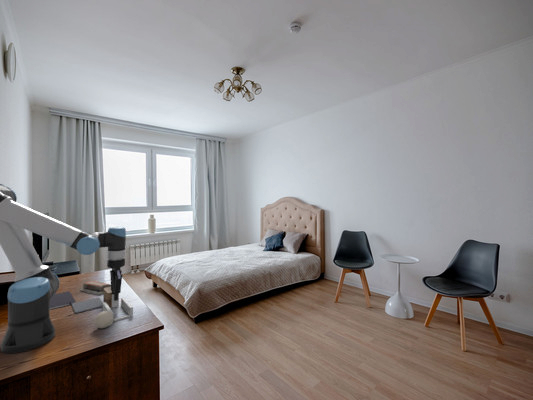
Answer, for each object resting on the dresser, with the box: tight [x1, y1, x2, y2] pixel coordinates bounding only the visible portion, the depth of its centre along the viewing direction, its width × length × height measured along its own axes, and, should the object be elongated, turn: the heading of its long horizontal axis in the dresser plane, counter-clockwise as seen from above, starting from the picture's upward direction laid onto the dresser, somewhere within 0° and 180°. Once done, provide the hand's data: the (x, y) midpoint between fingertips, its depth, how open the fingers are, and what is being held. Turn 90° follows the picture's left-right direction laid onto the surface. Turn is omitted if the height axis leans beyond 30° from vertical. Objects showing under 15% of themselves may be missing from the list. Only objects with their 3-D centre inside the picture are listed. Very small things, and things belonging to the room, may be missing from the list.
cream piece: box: [92, 310, 114, 329], centre depth 107 cm, size 7×7×7 cm
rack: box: [102, 297, 134, 323], centre depth 120 cm, size 9×17×4 cm, turn 44°
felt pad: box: [71, 297, 103, 314], centre depth 128 cm, size 12×14×1 cm
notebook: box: [49, 291, 77, 311], centre depth 134 cm, size 13×2×21 cm
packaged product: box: [79, 280, 111, 296], centre depth 150 cm, size 18×5×10 cm
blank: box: [102, 287, 118, 309], centre depth 130 cm, size 5×10×8 cm, turn 44°
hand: (115, 306), depth 121 cm, fingers closed
